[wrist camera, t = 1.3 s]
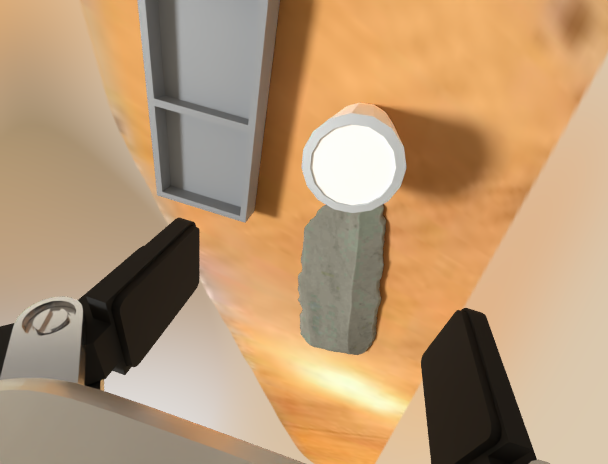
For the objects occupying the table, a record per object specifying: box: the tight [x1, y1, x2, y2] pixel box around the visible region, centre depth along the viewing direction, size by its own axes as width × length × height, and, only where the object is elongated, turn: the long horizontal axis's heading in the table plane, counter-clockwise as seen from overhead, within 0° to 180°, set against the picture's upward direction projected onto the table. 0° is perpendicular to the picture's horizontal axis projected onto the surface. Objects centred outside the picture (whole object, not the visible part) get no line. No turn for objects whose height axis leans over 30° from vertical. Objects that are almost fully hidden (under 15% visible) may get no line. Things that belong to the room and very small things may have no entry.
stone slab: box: [298, 204, 386, 355], centre depth 35 cm, size 22×3×10 cm
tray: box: [138, 0, 280, 222], centre depth 26 cm, size 10×19×2 cm, turn 168°
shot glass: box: [302, 102, 406, 213], centre depth 23 cm, size 7×7×7 cm
